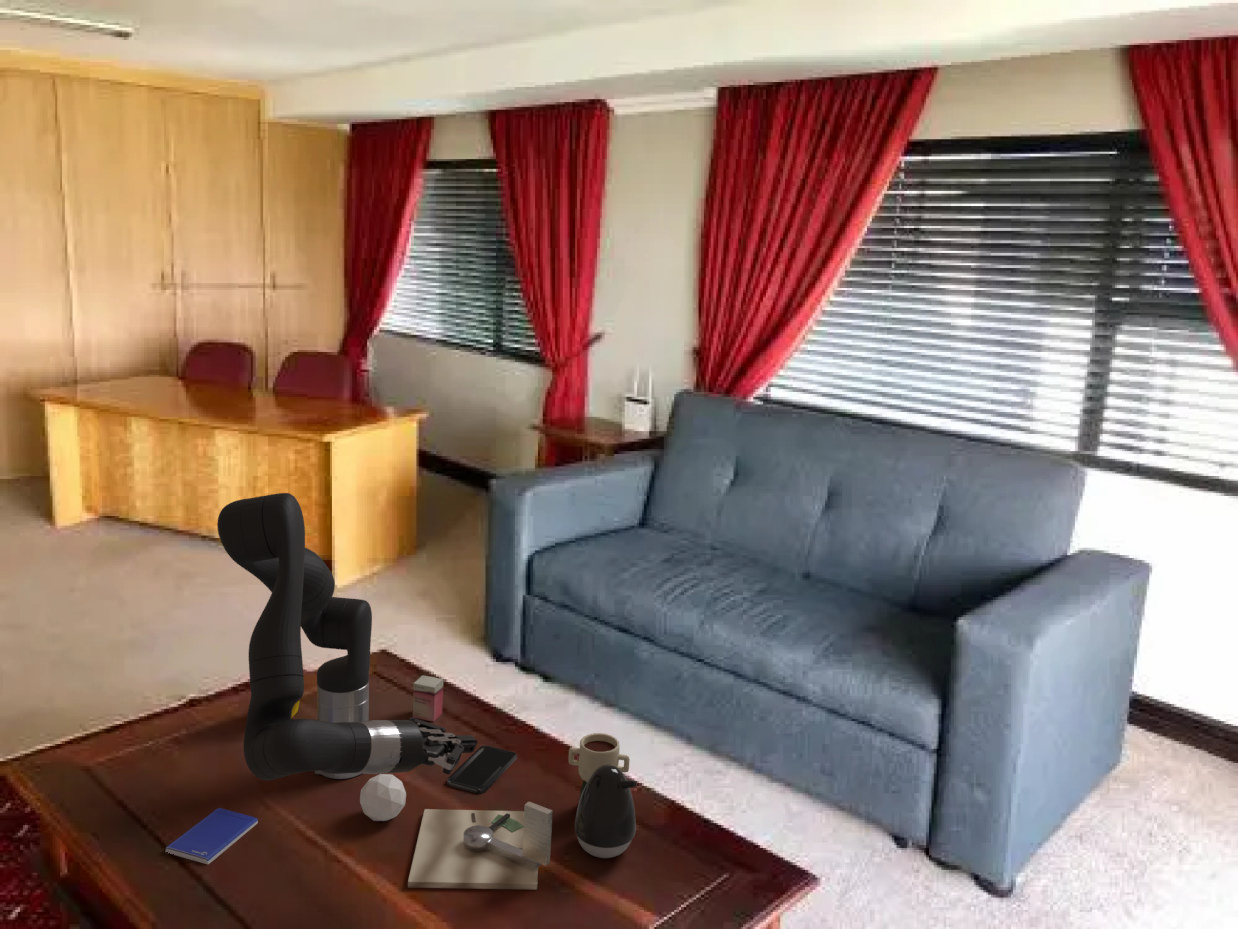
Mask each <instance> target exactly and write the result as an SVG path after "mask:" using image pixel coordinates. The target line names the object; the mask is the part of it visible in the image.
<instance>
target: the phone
mask: <svg viewBox="0 0 1238 929" xmlns="http://www.w3.org/2000/svg"><path fill="white" fill-rule="evenodd" d="M517 756H518V754H517V753H516V752H514V751H510V750H508V749H507V750H506V749H502V748H499V747H495V746H490V745H485V744H484V745H482V746H480V747H479V748H478V749H477V750H476V751H475V752H473V753H472V754H471V755H470V756H469V757H468V758H467V759H466V760H465V761H464V762H463V763H462V764H461V765H460V766H459V767H458V768H456V770H454V771H453V773H452V774H450V776H448V778H447V779H446V785H447V786H449V787H452V788H455V789H459V790H463V791H466V792H470V793H474V794H478V795H482V794H484V793H486V792H487V791H488V790H489V789H490V788H491V787H492V785H494V784H495V783H496V782H497V781H498V779H499V778H500V777H501V776H503V774H504V773H505V772H506V771H507V770H508V768H509V767H511V766H512V765H513V764H514V763H515V761H516V760H517Z"/></svg>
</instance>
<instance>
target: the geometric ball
mask: <svg viewBox="0 0 1238 929" xmlns="http://www.w3.org/2000/svg"><path fill="white" fill-rule="evenodd" d="M359 795H360V796H359V804H360V806H361V809H362V811H363V814H364V815H366V816H367V817H368V818H369V819H370V820H372V821H374V822H386V821H389V820H391V819H394V818H396V817H397V816H398V815H399V814H400V813H401V811H402V810H403V808H404V807H405V806H406V799H407V792H406V789H405V786H404V783H403V781H402V780H401V779H399V778H398V777H396V776H395V775H393V773H380V774H376V775H375V776H373V777H371V778H369V779H368V781H367V782H366V783H365V784H364V785H363V786H362V788H361V789H360V794H359Z"/></svg>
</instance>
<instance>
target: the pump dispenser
mask: <svg viewBox="0 0 1238 929" xmlns="http://www.w3.org/2000/svg"><path fill="white" fill-rule="evenodd" d="M637 785H638V783H637V781H636V780H633V779H627V778H626V775H625V774H624V772H622V771H621V770H620V769H619V768H618V767H616V766H614V765H602V766H600V767H598V768H597V769H596V770H595V771H594V772H593V774H592V775H591V777H590V778H589V780H588V782H587V784H586V786H585V788H584V790H583V793H582V795H581V798H580V797H579V799H580V801H579V800H578V805H577V809H576V812H575V813H576V814H575V820H574V832H575V835H576V837H577V841H578V843H579V844H580V846H581V848H582V849H583V850H584V851H585V852H586V853H587V854H588V855H589V854H590V855H591V856H593V857H597V858H599V859H610V858H615V857H618V856H620V855H621V854H623V853H624V852H625V851H626V850H627V849H628V847H629V846H630V845H631V843H632V841H633V838H634V837H635V835H636V828H637V823H636V822H637V821H636V820H637V819H636V811H635V810H636V809H635V803H634V798H633V794H632V791H631V788H636V787H637Z"/></svg>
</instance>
